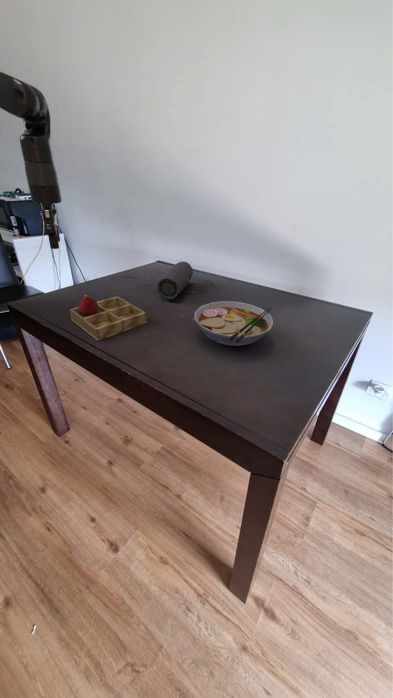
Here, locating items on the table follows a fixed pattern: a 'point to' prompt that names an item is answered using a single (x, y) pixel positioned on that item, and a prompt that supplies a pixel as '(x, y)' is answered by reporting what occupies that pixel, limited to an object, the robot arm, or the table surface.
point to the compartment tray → (110, 318)
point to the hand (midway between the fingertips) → (55, 245)
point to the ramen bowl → (233, 322)
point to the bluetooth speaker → (175, 280)
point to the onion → (88, 306)
